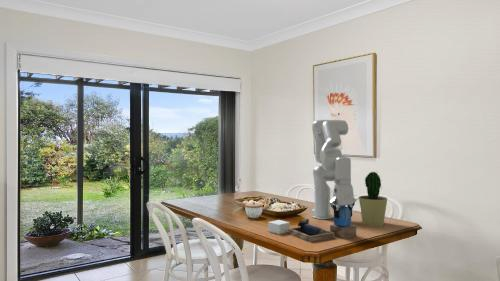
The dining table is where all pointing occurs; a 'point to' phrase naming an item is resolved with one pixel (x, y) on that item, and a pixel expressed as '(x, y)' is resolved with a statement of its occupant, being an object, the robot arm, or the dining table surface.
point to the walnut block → (343, 231)
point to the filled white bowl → (253, 209)
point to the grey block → (278, 226)
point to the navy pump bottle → (309, 228)
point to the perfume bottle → (343, 216)
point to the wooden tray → (303, 236)
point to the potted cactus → (373, 202)
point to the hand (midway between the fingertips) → (343, 216)
